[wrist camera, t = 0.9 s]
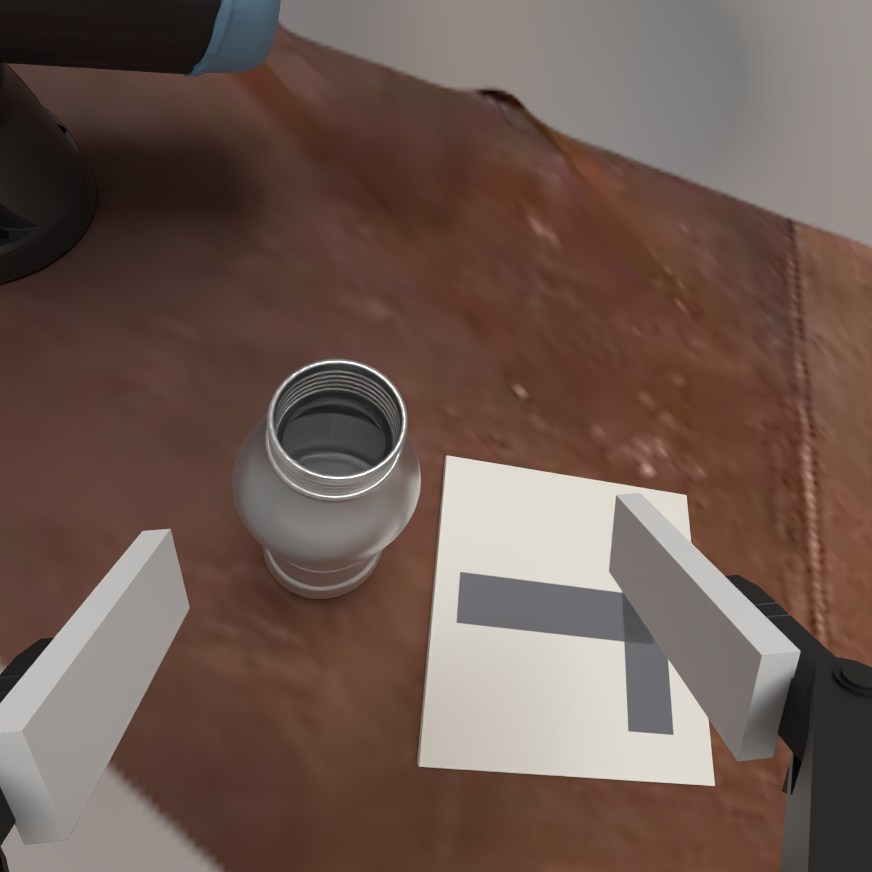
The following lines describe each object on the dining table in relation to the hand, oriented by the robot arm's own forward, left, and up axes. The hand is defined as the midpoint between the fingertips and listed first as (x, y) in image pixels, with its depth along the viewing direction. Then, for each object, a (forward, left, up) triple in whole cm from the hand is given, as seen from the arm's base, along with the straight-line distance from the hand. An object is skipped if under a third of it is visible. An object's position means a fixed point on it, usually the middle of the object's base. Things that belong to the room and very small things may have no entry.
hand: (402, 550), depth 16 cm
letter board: (-1, +14, -17) cm, 22 cm away
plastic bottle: (-3, -2, -17) cm, 18 cm away
